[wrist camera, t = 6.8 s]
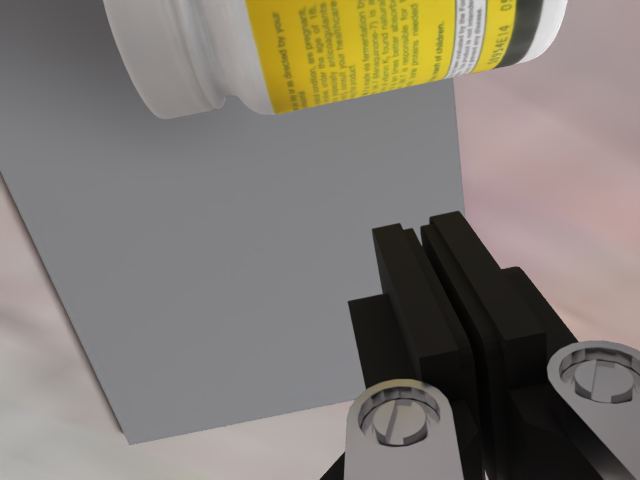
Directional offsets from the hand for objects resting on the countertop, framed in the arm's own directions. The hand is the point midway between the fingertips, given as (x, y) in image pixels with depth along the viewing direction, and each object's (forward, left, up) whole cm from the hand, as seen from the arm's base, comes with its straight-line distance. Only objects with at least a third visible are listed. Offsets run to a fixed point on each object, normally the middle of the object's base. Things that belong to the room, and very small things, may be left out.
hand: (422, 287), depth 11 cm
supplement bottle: (-4, -5, -4) cm, 8 cm away
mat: (+4, 0, -6) cm, 7 cm away
